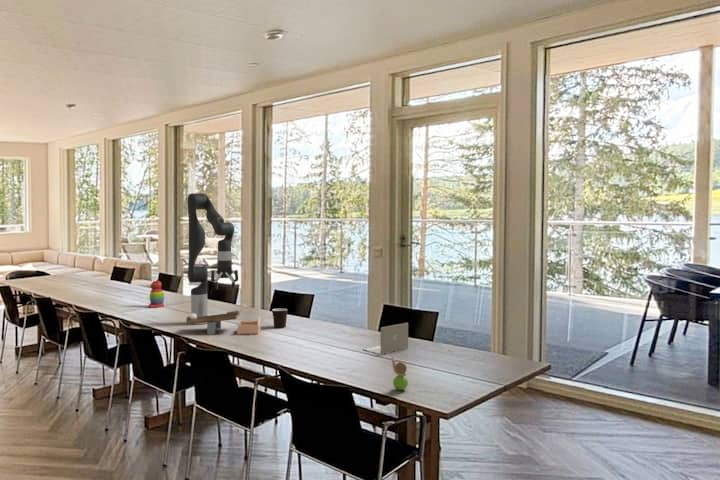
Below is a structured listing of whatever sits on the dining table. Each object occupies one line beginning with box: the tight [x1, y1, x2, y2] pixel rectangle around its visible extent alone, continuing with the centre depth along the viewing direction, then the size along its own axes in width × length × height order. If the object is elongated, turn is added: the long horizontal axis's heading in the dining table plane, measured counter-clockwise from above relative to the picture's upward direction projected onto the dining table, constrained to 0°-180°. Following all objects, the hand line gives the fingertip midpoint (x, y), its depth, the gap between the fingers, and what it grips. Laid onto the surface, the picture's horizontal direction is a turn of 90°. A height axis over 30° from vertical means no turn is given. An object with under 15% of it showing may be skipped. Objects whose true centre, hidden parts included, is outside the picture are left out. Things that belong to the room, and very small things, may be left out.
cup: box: [236, 315, 262, 335], centre depth 313 cm, size 11×11×8 cm
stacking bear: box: [148, 279, 165, 309], centre depth 395 cm, size 11×10×18 cm
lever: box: [185, 310, 241, 326], centre depth 315 cm, size 14×26×5 cm, turn 93°
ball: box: [188, 313, 197, 320], centre depth 311 cm, size 4×4×4 cm
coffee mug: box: [271, 307, 288, 329], centre depth 328 cm, size 12×9×10 cm
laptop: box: [364, 322, 409, 355], centre depth 275 cm, size 18×12×13 cm
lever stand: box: [206, 321, 222, 336], centre depth 316 cm, size 17×4×6 cm, turn 3°
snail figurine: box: [391, 356, 409, 391], centre depth 214 cm, size 5×6×12 cm
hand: (224, 289), depth 315 cm, fingers open, 8 cm apart
